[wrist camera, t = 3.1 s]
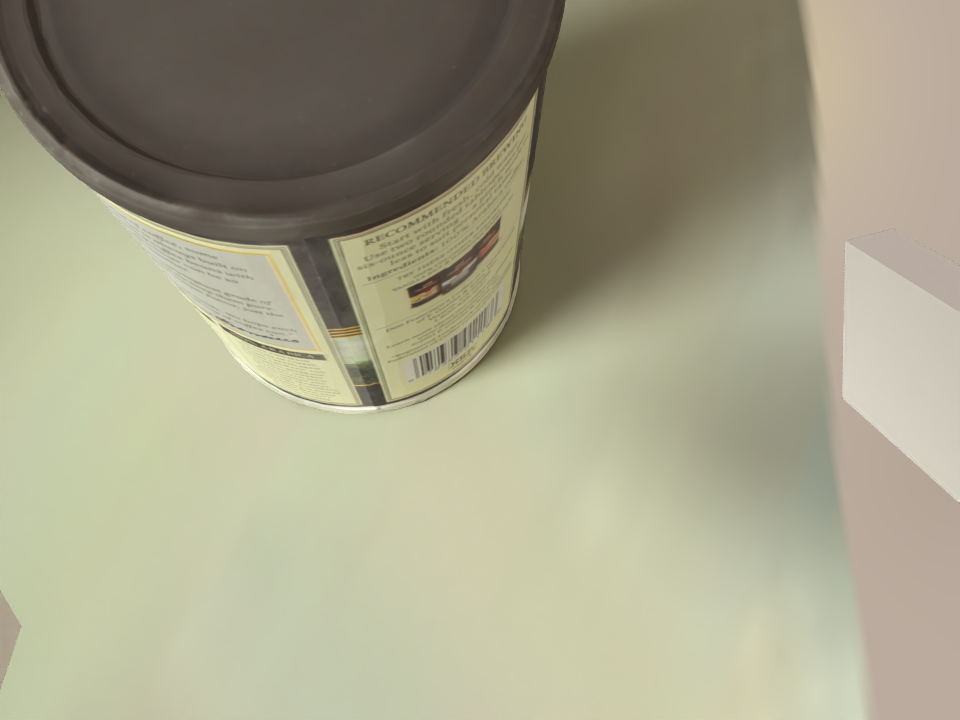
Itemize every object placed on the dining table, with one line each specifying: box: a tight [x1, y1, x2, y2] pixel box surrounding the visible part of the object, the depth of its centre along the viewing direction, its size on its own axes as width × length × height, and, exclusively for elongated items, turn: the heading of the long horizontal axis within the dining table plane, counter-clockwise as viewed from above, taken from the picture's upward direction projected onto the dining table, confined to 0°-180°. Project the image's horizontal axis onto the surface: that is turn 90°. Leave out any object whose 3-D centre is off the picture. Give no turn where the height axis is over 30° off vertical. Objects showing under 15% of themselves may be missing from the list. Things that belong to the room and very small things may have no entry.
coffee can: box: [0, 0, 565, 414], centre depth 23 cm, size 10×10×14 cm
